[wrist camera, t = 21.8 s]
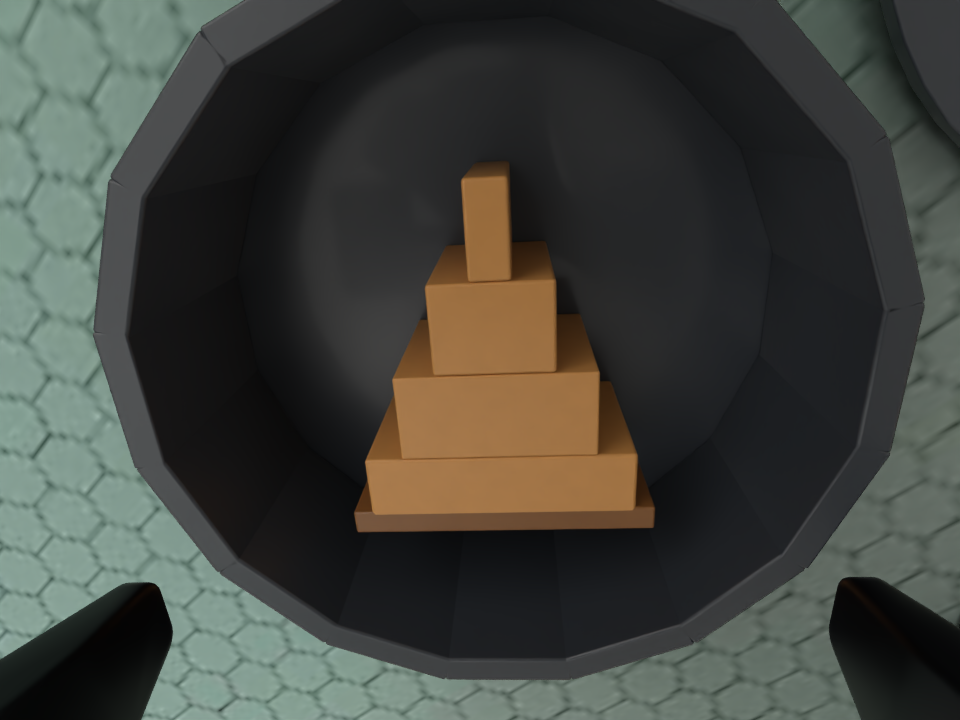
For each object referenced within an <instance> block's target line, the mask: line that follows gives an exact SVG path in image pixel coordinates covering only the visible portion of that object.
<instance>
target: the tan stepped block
mask: <svg viewBox="0 0 960 720" xmlns="http://www.w3.org/2000/svg"><path fill="white" fill-rule="evenodd" d="M461 191H462V205H463V220H464V235H465V245H448V246H446V247H445V249H444V251H443V253H442V255H441V257H440V259H439V260H438V262H437V264H436V266H435V268H434V270H433V272H432V274H431V276H430V278H429V280H428V282H427V284H426V286H425V296H426V307H427V317H428V320H419V322H418V325H417V327H416V329H415V331H414V333H413V335H412V338H411V340H410V342H409V344H408V346H407V349H406V351H405V353H404V355H403V357H402V359H401V362H400V364H399V366H398V368H397V370H396V373H395V375H394V377H393V379H392V382H393V390H394V395H393V398H392V400H391V402H390V405H389V407H388V409H387V412H386V414H385V416H384V419H383V421H382V423H381V426H380V428H379V430H378V433H377V435H376V437H375V440H374V442H373V444H372V447H371V449H370V451H369V454H368V456H367V458H366V461H365V465H366V472H367V479H368V480H367V482H366V485H365V487H364V490H363V492H362V495H361V497H360V499H359V502H358V504H357V507H356V509H355V512H354V516H355V522H356V528H357V531H358V532H419V531H487V530H554V529H622V528H653V527H654V522H655V506H654V503H653V500H652V498H651V495H650V492H649V489H648V487H647V484H646V481H645V478H644V475H643V473H642V470H641V467H640V464H639V462H638V455H637V452H636V449H635V446H634V444H633V441H632V438H631V435H630V433H629V430H628V427H627V425H626V422H625V419H624V416H623V414H622V411H621V408H620V405H619V403H618V400H617V397H616V395H615V392H614V389H613V386H612V384H611V382H609V381H600V372H599V369H598V366H597V363H596V360H595V357H594V354H593V351H592V348H591V345H590V342H589V339H588V336H587V333H586V330H585V327H584V324H583V321H582V318H581V315H580V314H557V296H556V279H555V275H554V271H553V268H552V264H551V260H550V256H549V252H548V248H547V244H546V242H545V241H530V242H512V221H511V195H510V168H509V162H508V161H495V162H477V163H475V164H474V165H473V166H472V167H471V168H470V170H469V171H468V172H467V173H466V175H465V176H464V177H463V178H462V180H461Z"/></svg>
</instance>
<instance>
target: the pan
mask: <svg viewBox="0 0 960 720" xmlns="http://www.w3.org/2000/svg"><path fill="white" fill-rule="evenodd" d="M885 135H886V132H885V130H884V129H883V128H882V126H881V125H880V124H879V123H878V122H877V120H876V119H875V118H874V117H873V116H872V114H871V113H870V112H869V111H868V110H867V108H866V107H865V106H864V105H863V104H862V102H861V101H860V100H859V99H858V98H857V96H856V95H855V94H854V93H853V92H852V90H851V89H850V88H849V87H848V86H847V84H846V83H845V82H844V81H843V80H842V78H841V77H840V76H839V75H838V74H837V72H836V71H835V70H834V69H833V68H832V66H831V65H830V64H829V63H828V62H827V60H826V59H825V58H824V57H823V56H822V55H821V53H820V52H819V51H818V50H817V49H816V47H815V46H814V45H813V44H812V43H811V41H810V40H809V39H808V38H807V37H806V35H805V34H804V33H803V32H802V31H801V29H800V28H799V27H798V26H797V25H796V23H795V22H794V21H793V20H792V19H791V17H790V16H789V15H788V14H787V13H786V11H785V10H784V9H783V8H782V7H781V5H780V4H779V3H778V2H777V1H776V0H244V1H242V2H240V3H239V4H237V5H235V6H234V7H232V8H231V9H229V10H227V11H226V12H224V13H223V14H221V15H219V16H218V17H216V18H215V19H213V20H211V21H210V22H208V23H206V24H205V25H203V26H202V27H201V31H199V32H198V33H197V34H196V36H195V37H194V39H193V41H192V42H191V44H190V46H189V47H188V49H187V51H186V52H185V54H184V56H183V57H182V59H181V60H180V62H179V64H178V65H177V67H176V69H175V70H174V72H173V74H172V75H171V77H170V78H169V80H168V82H167V83H166V85H165V87H164V88H163V90H162V92H161V93H160V95H159V97H158V98H157V100H156V101H155V103H154V105H153V106H152V108H151V110H150V111H149V113H148V115H147V116H146V118H145V119H144V121H143V123H142V124H141V126H140V128H139V129H138V131H137V133H136V134H135V136H134V137H133V139H132V141H131V142H130V144H129V146H128V147H127V149H126V151H125V152H124V154H123V156H122V157H121V159H120V160H119V162H118V164H117V165H116V167H115V169H114V170H113V172H112V174H111V178H112V179H110V180H109V182H108V190H107V200H106V210H105V220H104V230H103V240H102V250H101V260H100V270H99V279H98V289H97V299H96V309H95V319H94V333H93V337H94V340H95V343H96V346H97V350H98V353H99V356H100V359H101V362H102V365H103V368H104V372H105V375H106V378H107V381H108V384H109V387H110V391H111V394H112V397H113V400H114V403H115V406H116V409H117V413H118V416H119V419H120V422H121V425H122V428H123V432H124V435H125V438H126V441H127V444H128V447H129V450H130V454H131V457H132V460H133V463H134V466H135V468H137V470H138V472H139V473H140V474H141V476H142V477H143V478H144V479H145V481H146V482H147V483H148V485H149V486H150V487H151V488H152V490H153V491H154V492H155V493H156V495H157V496H158V497H159V499H160V500H161V501H162V502H163V504H164V505H165V506H166V507H167V509H168V510H169V511H170V513H171V514H172V515H173V516H174V518H175V519H176V520H177V521H178V523H179V524H180V525H181V527H182V528H183V529H184V530H185V532H186V533H187V534H188V535H189V537H190V538H191V539H192V540H193V542H194V543H195V544H196V546H197V547H198V548H199V549H200V551H201V552H202V553H203V554H204V556H205V557H206V558H207V560H208V561H209V562H210V563H211V565H212V566H213V567H214V568H215V570H216V571H218V572H220V574H221V575H222V576H224V577H225V578H227V579H228V580H230V581H231V582H233V583H234V584H236V585H237V586H239V587H240V588H242V589H243V590H245V591H246V592H248V593H249V594H251V595H252V596H254V597H255V598H257V599H259V600H260V601H262V602H263V603H265V604H266V605H268V606H269V607H271V608H272V609H274V610H275V611H277V612H278V613H280V614H281V615H283V616H284V617H286V618H287V619H289V620H290V621H292V622H293V623H295V624H296V625H298V626H299V627H301V628H302V629H304V630H305V631H307V632H308V633H310V634H311V635H313V636H315V637H316V638H318V639H319V640H321V641H322V642H326V644H328V645H331V646H334V647H338V648H341V649H344V650H348V651H351V652H354V653H358V654H361V655H364V656H368V657H371V658H375V659H378V660H381V661H385V662H388V663H391V664H395V665H398V666H401V667H405V668H408V669H411V670H415V671H418V672H422V673H425V674H428V675H432V676H435V677H438V678H442V679H445V678H447V679H465V680H570V679H571V678H572V679H577V678H580V677H584V676H587V675H590V674H594V673H597V672H601V671H604V670H607V669H611V668H614V667H618V666H621V665H625V664H628V663H631V662H635V661H638V660H642V659H645V658H648V657H652V656H655V655H659V654H662V653H666V652H669V651H672V650H676V649H679V648H683V647H686V646H689V645H692V644H694V642H699V641H700V640H702V639H703V638H705V637H706V636H708V635H709V634H711V633H712V632H714V631H715V630H717V629H718V628H720V627H721V626H723V625H724V624H725V623H727V622H728V621H730V620H731V619H733V618H734V617H736V616H737V615H739V614H740V613H742V612H743V611H745V610H746V609H748V608H749V607H751V606H752V605H754V604H755V603H756V602H758V601H759V600H761V599H762V598H764V597H765V596H767V595H768V594H770V593H771V592H773V591H774V590H776V589H777V588H779V587H780V586H782V585H783V584H785V583H786V582H788V581H789V580H790V579H792V578H793V577H795V576H796V575H798V574H799V573H801V572H802V571H804V569H805V568H808V567H809V566H810V564H811V563H812V562H813V560H814V559H815V557H816V556H817V555H818V553H819V552H820V551H821V549H822V548H823V546H824V545H825V544H826V542H827V541H828V540H829V538H830V537H831V535H832V534H833V533H834V531H835V530H836V529H837V527H838V526H839V524H840V523H841V522H842V520H843V519H844V518H845V516H846V515H847V513H848V512H849V511H850V509H851V508H852V506H853V505H854V504H855V502H856V501H857V500H858V498H859V497H860V495H861V494H862V493H863V491H864V490H865V489H866V487H867V486H868V484H869V483H870V482H871V480H872V479H873V478H874V476H875V475H876V473H877V472H878V471H879V469H880V468H881V467H882V465H883V464H884V462H885V461H886V460H887V458H888V457H889V456H890V453H889V451H890V450H891V448H892V443H893V439H894V435H895V431H896V426H897V422H898V418H899V414H900V409H901V405H902V401H903V396H904V392H905V388H906V384H907V379H908V375H909V371H910V366H911V362H912V358H913V354H914V349H915V345H916V341H917V336H918V332H919V328H920V324H921V319H922V315H923V311H924V303H923V302H924V300H925V297H924V293H923V288H922V284H921V279H920V275H919V270H918V266H917V261H916V257H915V252H914V248H913V243H912V239H911V234H910V230H909V225H908V221H907V216H906V212H905V207H904V203H903V198H902V194H901V189H900V184H899V180H898V175H897V171H896V166H895V162H894V157H893V153H892V148H891V144H890V139H889V138H888V137H887V136H885ZM495 161H508V162H509V168H510V195H511V221H512V242H530V241H545V242H546V244H547V248H548V252H549V256H550V260H551V264H552V268H553V271H554V275H555V279H556V296H557V314H580V315H581V318H582V321H583V324H584V327H585V330H586V333H587V336H588V339H589V342H590V345H591V348H592V351H593V354H594V357H595V360H596V363H597V366H598V369H599V372H600V381H609V382H611V384H612V386H613V389H614V392H615V395H616V397H617V400H618V403H619V405H620V408H621V411H622V414H623V416H624V419H625V422H626V425H627V427H628V430H629V433H630V435H631V438H632V441H633V444H634V446H635V449H636V452H637V455H638V462H639V464H640V467H641V470H642V473H643V475H644V478H645V481H646V484H647V487H648V489H649V492H650V495H651V498H652V500H653V503H654V506H655V522H654V527H653V528H622V529H554V530H487V531H419V532H358V531H357V528H356V522H355V516H354V512H355V509H356V507H357V504H358V502H359V499H360V497H361V495H362V492H363V490H364V487H365V485H366V482H367V480H368V479H367V472H366V465H365V461H366V458H367V456H368V454H369V451H370V449H371V447H372V444H373V442H374V440H375V437H376V435H377V433H378V430H379V428H380V426H381V423H382V421H383V419H384V416H385V414H386V412H387V409H388V407H389V405H390V402H391V400H392V398H393V395H394V390H393V382H392V379H393V377H394V375H395V373H396V370H397V368H398V366H399V364H400V362H401V359H402V357H403V355H404V353H405V351H406V349H407V346H408V344H409V342H410V340H411V338H412V335H413V333H414V331H415V329H416V327H417V325H418V322H419V320H428V317H427V307H426V296H425V286H426V284H427V282H428V280H429V278H430V276H431V274H432V272H433V270H434V268H435V266H436V264H437V262H438V260H439V259H440V257H441V255H442V253H443V251H444V249H445V247H446V246H448V245H465V235H464V220H463V205H462V191H461V180H462V178H463V177H464V176H465V175H466V173H467V172H468V171H469V170H470V168H471V167H472V166H473V165H474V164H475V163H477V162H495Z"/></svg>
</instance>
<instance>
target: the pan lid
mask: <svg viewBox="0 0 960 720" xmlns="http://www.w3.org/2000/svg"><path fill="white" fill-rule="evenodd" d="M879 1H880V4H881V8H882V11H883V15H884V18H885V22H886V25H887V29H888V32H889V36H890V40H891V43H892V46H893V48H894V50H895V52H896V54H897V57H898V59H899V61H900V63H901V65H902V68H903V70H904V72H905V74H906V76H907V79H908V81H909V83H910V85H911V87H912V89H913V90H914V91H915V93H916V94H917V96H918V97H919V99H920V100H921V102H922V103H923V105H924V106H925V108H926V109H927V111H928V112H929V114H930V115H931V117H932V118H933V120H934V121H935V123H936V124H937V125H938V126H939V127H940V128H941V129H942V130H943V131H944V132H945V133H946V134H947V135H948V136H949V137H950V138H951V139H952V141H953V142H954V143H955V144H956V145H957V146H958V147H959V148H960V0H879Z"/></svg>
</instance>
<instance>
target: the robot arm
mask: <svg viewBox="0 0 960 720" xmlns="http://www.w3.org/2000/svg"><path fill="white" fill-rule="evenodd" d="M829 635H830V640H831V644H832V647H833V650H834V652H835V655H836V657H837V660H838V662H839V665H840V667H841V670H842V672H843V675H844V677H845V680H846V682H847V685H848V687H849V690H850V692H851V695H852V698H853V700H854V703H855V705H856V708H857V710H858V713H859V715H860V718H861V720H960V626H959V627H957V626H955V625H954V624H952V623H950V622H949V621H947V620H946V619H944V618H942V617H941V616H939V615H938V614H936V613H934V612H933V611H931V610H930V609H928V608H926V607H925V606H923V605H922V604H920V603H918V602H917V601H915V600H914V599H912V598H910V597H909V596H907V595H906V594H904V593H902V592H901V591H899V590H898V589H896V588H894V587H893V586H891V585H890V584H888V583H886V582H885V581H883V580H881V579H879V578H875V577H847V578H844V579H842V580H841V581H840V582H839V584H838V587H837V592H836V596H835V601H834V606H833V610H832V615H831V619H830V624H829ZM172 636H173V630H172V624H171V621H170V618H169V615H168V612H167V609H166V606H165V603H164V600H163V597H162V594H161V591H160V589H159V587H158V586H157V585H156V584H154V583H150V582H143V583H125V584H122V585H120V586H118V587H117V588H115V589H113V590H112V591H110V592H108V593H107V594H105V595H104V596H102V597H100V598H99V599H97V600H96V601H94V602H92V603H91V604H89V605H88V606H86V607H84V608H83V609H81V610H79V611H78V612H76V613H75V614H73V615H71V616H70V617H68V618H67V619H65V620H63V621H62V622H60V623H59V624H57V625H55V626H54V627H52V628H50V629H49V630H47V631H46V632H44V633H42V634H41V635H39V636H38V637H36V638H34V639H33V640H31V641H29V642H28V643H26V644H25V645H23V646H21V647H20V648H18V649H17V650H15V651H13V652H12V653H10V654H9V655H7V656H5V657H4V658H2V659H0V720H141V719H142V716H143V714H144V711H145V709H146V706H147V704H148V701H149V699H150V696H151V694H152V691H153V689H154V686H155V684H156V681H157V679H158V676H159V674H160V671H161V669H162V666H163V664H164V661H165V659H166V656H167V654H168V651H169V649H170V646H171V642H172Z"/></svg>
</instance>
